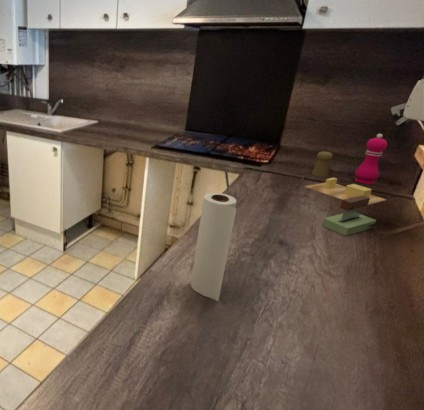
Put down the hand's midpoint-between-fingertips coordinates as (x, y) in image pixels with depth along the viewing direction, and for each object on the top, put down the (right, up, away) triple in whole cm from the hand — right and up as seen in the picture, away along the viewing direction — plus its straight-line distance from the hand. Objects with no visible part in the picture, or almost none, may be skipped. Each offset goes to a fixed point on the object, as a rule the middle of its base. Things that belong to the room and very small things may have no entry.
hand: (419, 142), depth 96 cm
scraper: (-12, -23, +10) cm, 28 cm away
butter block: (+4, -14, +28) cm, 31 cm away
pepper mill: (+19, -9, +43) cm, 48 cm away
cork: (+6, -6, +50) cm, 51 cm away
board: (+2, -14, +32) cm, 35 cm away
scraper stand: (-12, -23, +10) cm, 28 cm away
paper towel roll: (-64, -35, -18) cm, 76 cm away
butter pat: (0, -10, +36) cm, 37 cm away
